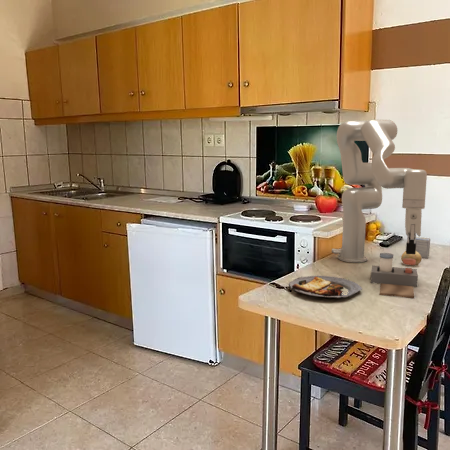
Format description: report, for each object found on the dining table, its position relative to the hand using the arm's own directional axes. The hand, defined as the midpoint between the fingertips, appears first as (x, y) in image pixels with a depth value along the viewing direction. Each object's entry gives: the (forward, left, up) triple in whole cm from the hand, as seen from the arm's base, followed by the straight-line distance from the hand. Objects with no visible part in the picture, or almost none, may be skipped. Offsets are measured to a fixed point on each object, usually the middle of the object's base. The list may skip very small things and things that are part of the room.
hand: (410, 253), depth 172 cm
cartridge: (-8, 0, -11) cm, 14 cm away
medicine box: (+6, +43, -11) cm, 45 cm away
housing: (-5, 0, -11) cm, 12 cm away
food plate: (-28, -20, -12) cm, 36 cm away
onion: (+2, +27, -11) cm, 30 cm away
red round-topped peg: (0, 0, -9) cm, 9 cm away
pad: (-4, -13, -11) cm, 17 cm away
